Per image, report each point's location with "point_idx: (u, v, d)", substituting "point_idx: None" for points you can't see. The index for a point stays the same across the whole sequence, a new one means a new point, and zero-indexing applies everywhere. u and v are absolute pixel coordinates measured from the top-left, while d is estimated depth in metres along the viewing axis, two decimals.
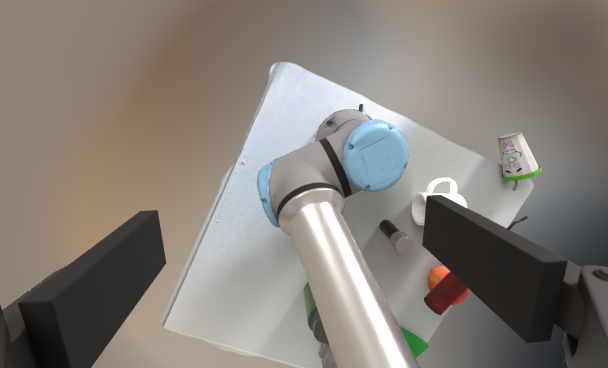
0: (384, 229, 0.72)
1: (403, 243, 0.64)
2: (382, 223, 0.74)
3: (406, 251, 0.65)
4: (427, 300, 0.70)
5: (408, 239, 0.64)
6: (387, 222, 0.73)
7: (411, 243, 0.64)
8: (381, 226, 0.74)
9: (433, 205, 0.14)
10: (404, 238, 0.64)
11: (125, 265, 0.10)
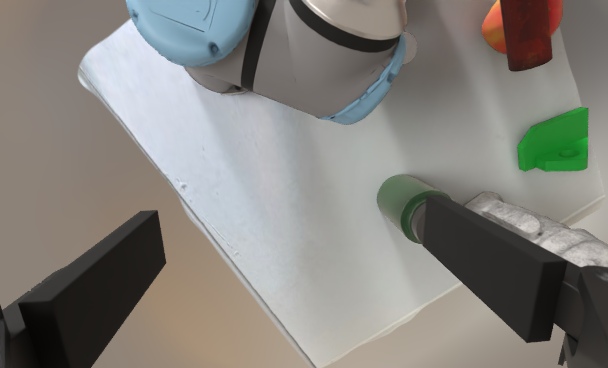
0: None
1: None
2: None
3: (413, 50, 0.38)
4: (514, 65, 0.41)
5: None
6: None
7: (407, 35, 0.38)
8: None
9: (433, 205, 0.14)
10: None
11: (125, 265, 0.10)
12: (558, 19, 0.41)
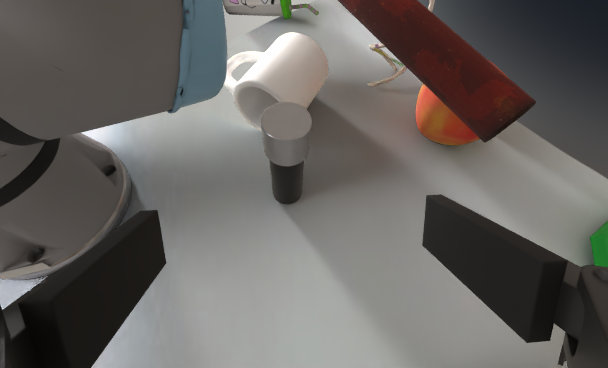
0: (277, 187, 0.29)
1: (278, 120, 0.22)
2: (274, 193, 0.31)
3: (306, 120, 0.23)
4: (486, 126, 0.25)
5: (273, 107, 0.23)
6: None
7: (288, 105, 0.23)
8: (278, 197, 0.31)
9: (433, 205, 0.14)
10: (265, 114, 0.23)
11: (125, 265, 0.10)
12: None
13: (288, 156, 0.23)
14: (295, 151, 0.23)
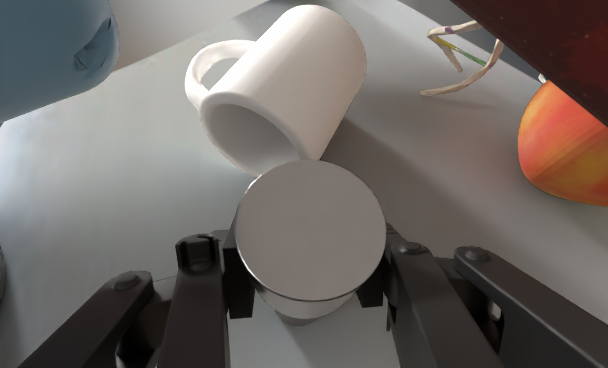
0: (281, 313, 0.14)
1: (287, 222, 0.08)
2: None
3: (369, 221, 0.08)
4: None
5: (272, 178, 0.08)
6: None
7: (315, 169, 0.08)
8: (283, 318, 0.16)
9: None
10: (248, 202, 0.08)
11: None
12: None
13: (314, 313, 0.08)
14: (335, 305, 0.08)
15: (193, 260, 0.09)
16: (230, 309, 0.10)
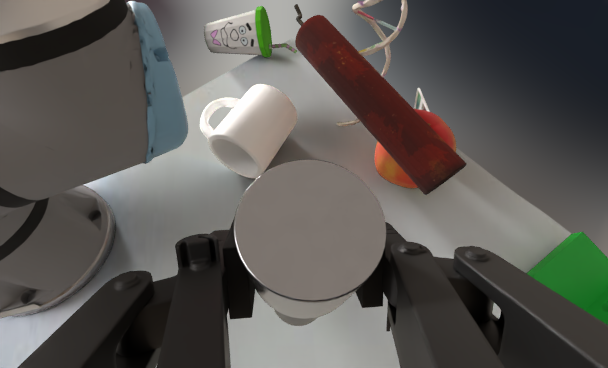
0: (281, 313, 0.14)
1: (287, 222, 0.08)
2: (274, 308, 0.16)
3: (369, 221, 0.08)
4: (424, 184, 0.29)
5: (272, 178, 0.08)
6: None
7: (315, 169, 0.08)
8: (283, 318, 0.16)
9: None
10: (248, 202, 0.08)
11: None
12: (448, 132, 0.33)
13: (314, 312, 0.08)
14: (335, 305, 0.08)
15: (193, 260, 0.09)
16: (230, 309, 0.10)
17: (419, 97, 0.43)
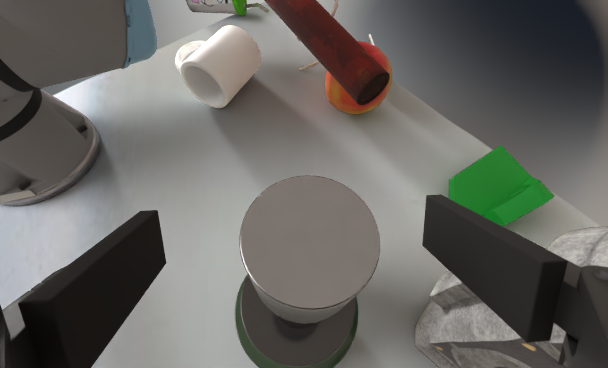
0: None
1: (288, 235, 0.08)
2: None
3: (364, 234, 0.08)
4: (354, 91, 0.35)
5: (274, 194, 0.09)
6: None
7: (314, 184, 0.09)
8: (284, 321, 0.16)
9: (433, 205, 0.14)
10: (252, 217, 0.08)
11: (125, 265, 0.10)
12: (382, 57, 0.39)
13: (313, 318, 0.09)
14: (333, 311, 0.09)
15: None
16: None
17: (370, 42, 0.49)
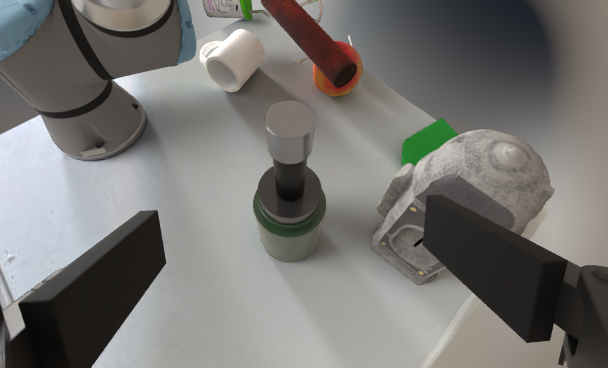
0: (280, 185, 0.29)
1: (282, 118, 0.23)
2: (277, 191, 0.31)
3: (309, 118, 0.23)
4: (332, 77, 0.49)
5: (276, 106, 0.23)
6: None
7: (292, 103, 0.23)
8: (281, 195, 0.31)
9: (433, 205, 0.14)
10: (268, 113, 0.23)
11: (125, 265, 0.10)
12: (354, 53, 0.53)
13: (292, 154, 0.23)
14: (299, 149, 0.23)
15: None
16: None
17: (349, 41, 0.63)
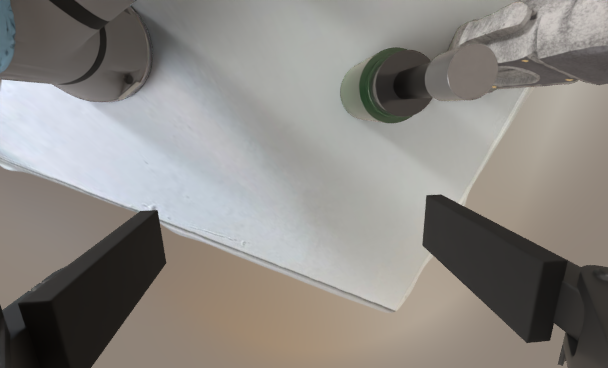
0: (415, 97, 0.30)
1: (465, 76, 0.22)
2: (400, 95, 0.32)
3: (492, 64, 0.22)
4: None
5: (455, 60, 0.21)
6: (399, 86, 0.31)
7: (470, 49, 0.21)
8: (407, 98, 0.32)
9: (433, 205, 0.14)
10: (450, 74, 0.22)
11: (125, 265, 0.10)
12: None
13: None
14: None
15: None
16: None
17: None
